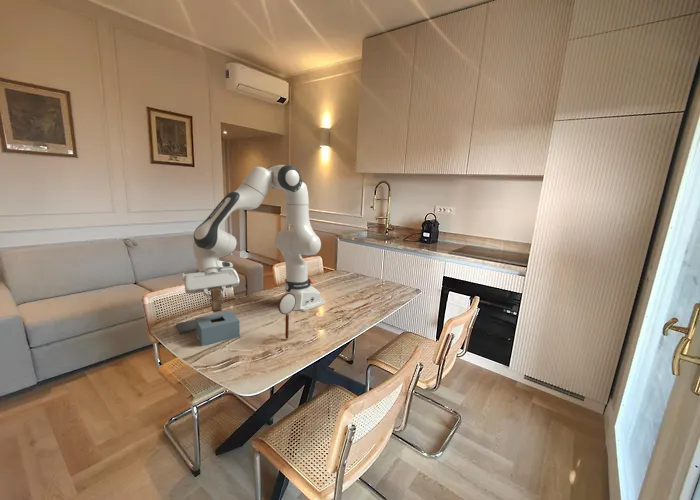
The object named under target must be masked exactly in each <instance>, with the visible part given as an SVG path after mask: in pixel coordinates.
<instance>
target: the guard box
mask: <svg viewBox="0 0 700 500" xmlns="http://www.w3.org/2000/svg"><path fill="white" fill-rule="evenodd" d="M194 320H196V331H195V334H196V336H197V339H198V340H199V342H200V344H201V347H204V346H209V345H212V344H216V343H219V342H224V341H227V340H232V339H235V338H239V337H240V336H241V335H240V334H241V333H240V329H241V328H240V320H239V318H238V317H237V316H236V315H235V314H234V312H232V310H229V311H224V312H219V313H218V312H217V313H215V314H209V315H205V316H200V317H199V316H198V317H195V319H194ZM219 321H220V322H219ZM214 322H216V323H214Z"/></svg>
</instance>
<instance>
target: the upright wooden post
mask: <svg viewBox="0 0 700 500" xmlns="http://www.w3.org/2000/svg"><path fill="white" fill-rule="evenodd" d="M221 293H222V291H221V289H220V288H212V289H211V291H210V295H212V297H213V299H212V300H210V303H211V305H210V306H211V311H212V313H218V312H219V313H220V312H222V311H223V310H222V299H221Z"/></svg>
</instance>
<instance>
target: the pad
mask: <svg viewBox="0 0 700 500" xmlns="http://www.w3.org/2000/svg"><path fill="white" fill-rule="evenodd" d="M175 325H176V328H177V331H178V334H179V335H185V334H187V333H193V332H196V320H195V319H192V320H191V319H190V320H188V321H181V322H177V323H175Z"/></svg>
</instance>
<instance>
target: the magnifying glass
mask: <svg viewBox="0 0 700 500" xmlns="http://www.w3.org/2000/svg"><path fill="white" fill-rule="evenodd" d="M295 304H296V298H295V296H294V295H293V294H292V293H287V294H283V295H282V296H281V297H280V299H279V300H278V304H277V308H278V311H279V313H281V315H285V333H284V334H285V340H286V341H287V340H289V331H290V330H289V329H290V328H289V324H290V322H289V321H290V320H289V319H290V317H289V316H290V315H289V314H290V313H291V312H292V311H294V310H293V309H294V307H295Z"/></svg>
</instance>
